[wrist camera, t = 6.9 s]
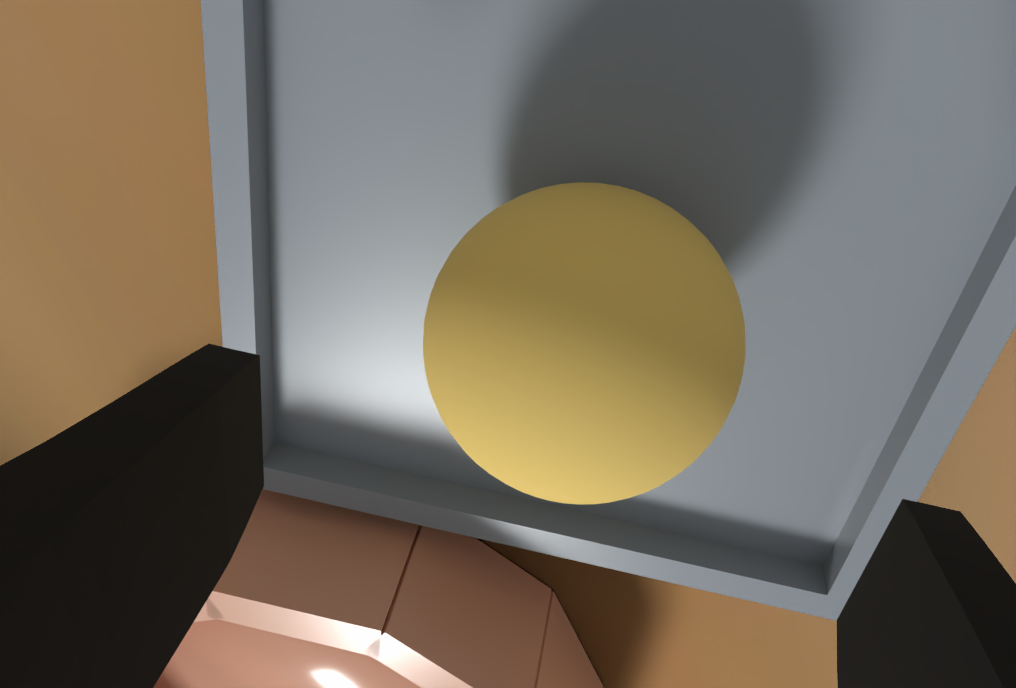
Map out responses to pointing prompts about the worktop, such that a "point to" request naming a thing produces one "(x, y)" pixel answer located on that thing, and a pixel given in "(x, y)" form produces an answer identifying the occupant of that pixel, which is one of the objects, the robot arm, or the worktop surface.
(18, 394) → the worktop surface
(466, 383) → the ball
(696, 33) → the tray
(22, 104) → the worktop surface
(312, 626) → the bowl
